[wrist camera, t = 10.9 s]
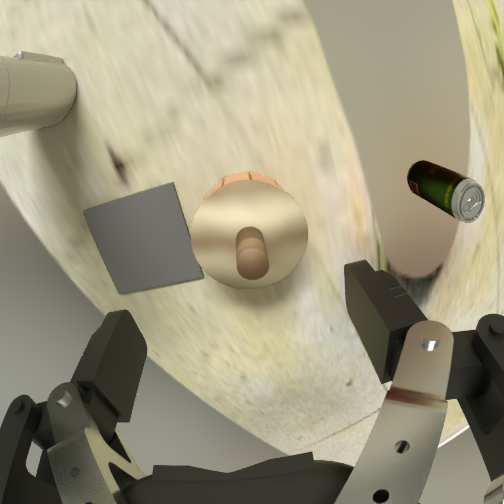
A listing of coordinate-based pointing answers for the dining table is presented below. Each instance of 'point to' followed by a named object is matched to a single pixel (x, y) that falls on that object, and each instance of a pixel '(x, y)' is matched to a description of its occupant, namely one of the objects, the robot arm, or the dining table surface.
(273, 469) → the robot arm
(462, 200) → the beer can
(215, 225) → the lid
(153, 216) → the mat
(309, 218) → the dining table surface
